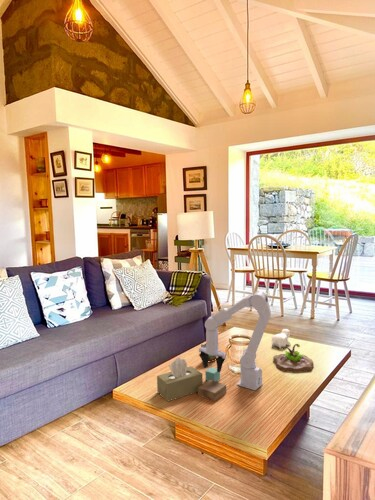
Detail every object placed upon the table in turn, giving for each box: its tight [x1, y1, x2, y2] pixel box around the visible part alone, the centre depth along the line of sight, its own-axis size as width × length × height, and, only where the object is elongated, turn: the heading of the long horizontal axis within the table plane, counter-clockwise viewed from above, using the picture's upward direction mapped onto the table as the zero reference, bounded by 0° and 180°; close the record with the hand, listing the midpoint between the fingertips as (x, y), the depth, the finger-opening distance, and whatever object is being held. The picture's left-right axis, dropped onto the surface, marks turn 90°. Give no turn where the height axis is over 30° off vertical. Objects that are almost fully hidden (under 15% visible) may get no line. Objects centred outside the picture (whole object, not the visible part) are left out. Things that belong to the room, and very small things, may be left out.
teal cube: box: [204, 367, 221, 382], centre depth 173 cm, size 5×5×5 cm
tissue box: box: [156, 356, 204, 401], centre depth 162 cm, size 19×10×16 cm, turn 121°
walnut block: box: [197, 380, 227, 402], centre depth 159 cm, size 9×9×4 cm
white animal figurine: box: [271, 328, 291, 350], centre depth 217 cm, size 9×8×15 cm
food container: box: [200, 343, 217, 361], centre depth 197 cm, size 12×6×10 cm, turn 143°
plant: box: [272, 343, 314, 373], centre depth 189 cm, size 20×20×11 cm
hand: (212, 369), depth 172 cm, fingers open, 7 cm apart
